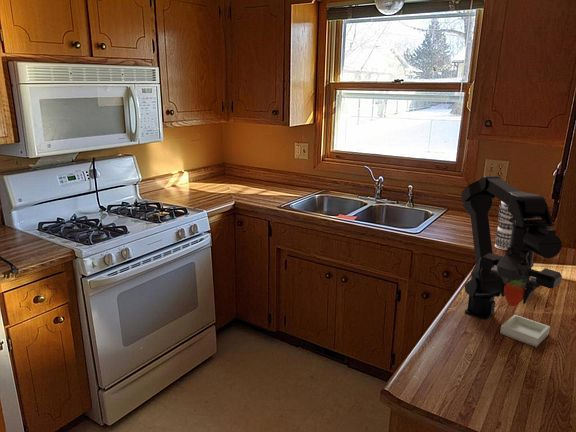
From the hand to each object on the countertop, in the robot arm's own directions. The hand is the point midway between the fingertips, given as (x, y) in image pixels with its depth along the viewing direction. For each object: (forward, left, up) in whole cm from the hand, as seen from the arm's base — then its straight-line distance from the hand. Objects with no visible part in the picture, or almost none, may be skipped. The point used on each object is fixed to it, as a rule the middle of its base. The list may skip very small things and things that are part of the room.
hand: (513, 299), depth 119 cm
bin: (+2, +6, -12) cm, 14 cm away
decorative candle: (-31, +76, -12) cm, 83 cm away
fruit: (0, 0, -2) cm, 2 cm away
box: (-13, +37, -12) cm, 41 cm away
